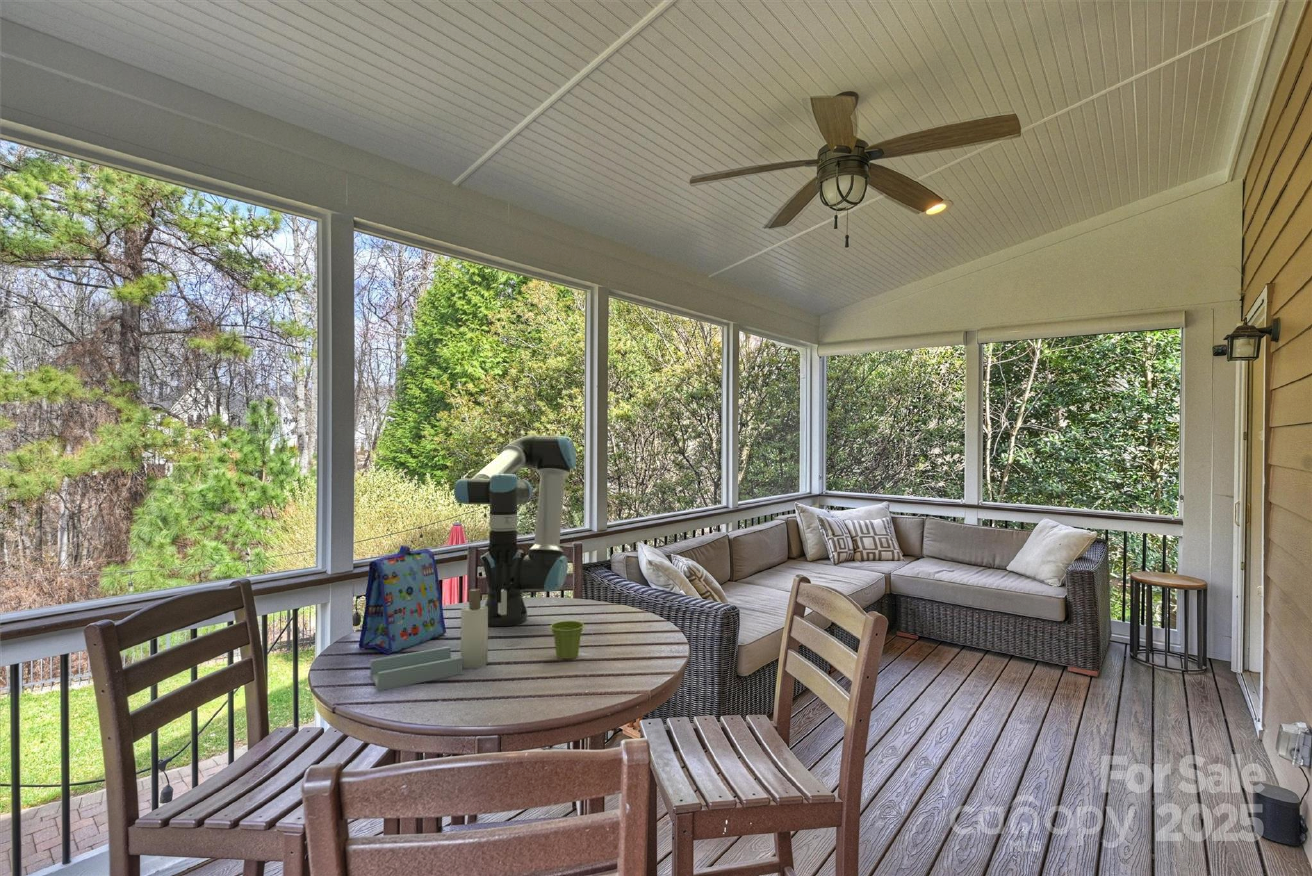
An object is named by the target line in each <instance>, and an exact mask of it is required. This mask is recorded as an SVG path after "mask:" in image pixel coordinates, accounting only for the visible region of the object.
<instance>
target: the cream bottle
mask: <svg viewBox="0 0 1312 876" xmlns="http://www.w3.org/2000/svg"><path fill="white" fill-rule="evenodd" d="M481 593H482V591H481V589H480V588H471V589H469V591H468V594H469V595H468V596H469V597H468V605H467V606H463V607H462V608H461V609H460V611H461V612H460V617H461V618H460V657H461V658H462V669H463V668H464V669H478V668H482V667H485V666H486V665H487V664H488V650H489V649H488V640H489V639H488V638H489V637H488V636H489V634H488V630H489V629H488V628H489V625H488V607H487V606H485V605H482V604H481V603H482V602H481V600H482V599H481V597H482V596H481V595H482V594H481Z"/></svg>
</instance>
